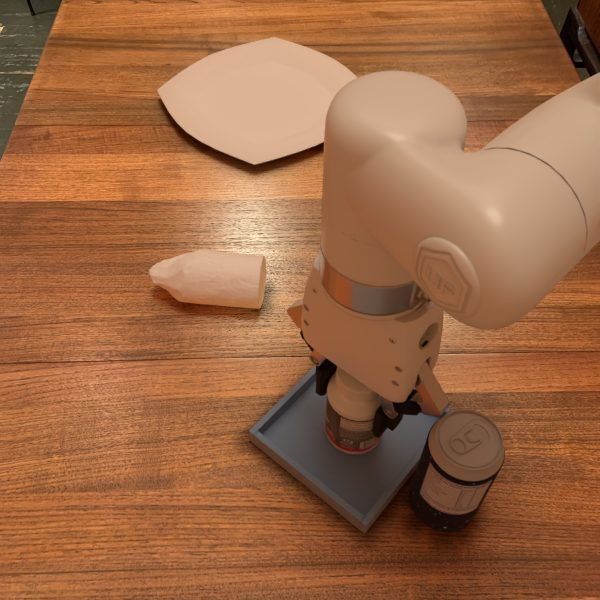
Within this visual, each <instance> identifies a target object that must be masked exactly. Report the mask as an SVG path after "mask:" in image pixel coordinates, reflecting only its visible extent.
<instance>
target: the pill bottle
mask: <svg viewBox="0 0 600 600" xmlns="http://www.w3.org/2000/svg"><path fill="white" fill-rule="evenodd" d="M380 405H381V401H380V397H379V394H377V393H376V392H374V391H373V390H371V389H370V388H368V387H367V386H366V385H364V384H363V383H361V382H360V381H358V380H357V379H355V378H354V377H352V376H351V375H350V374H348V373H347V372H345V371H344V370H342V369H341V368H340V367H338V366H337V370H336V372H335V373H334V374H333V375H332V376H331V378H330V380H329V383H328V387H327V401H326V418H325V431H326V435H327V437H328V439H329V441H330V442H331V444H332V445H333V446H334V447H335V448H337V449H338V450H340V451H342V452H344V453H346V454H352V455H356V454H364V453H367V452H369V451H371V450H372V449H374V448H375V447H376V446H377V445H378V443H379V442H380V440H381V438H382V435H383V434H382V435H381V436H380V437H379V438H377V437H376V436H374V435H373V432H372V429H373V423H374V418H375V412H376V410H377V409H378V408H379V406H380Z"/></svg>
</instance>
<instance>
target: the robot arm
mask: <svg viewBox="0 0 600 600" xmlns="http://www.w3.org/2000/svg"><path fill="white" fill-rule="evenodd" d="M467 135H468V118H467V114H466V110H465V108H464V106H463V104H462V102H461V101H460V99H459V98H458V96H457V95H456V94H455V92H454V91H452V90H451V89H450V88H449V87H448V86H446V85H445V84H444V83H443V84H442V83H441V82H440V81H438V80H436V79H434V78H432V77H430V76H427V75H425V74H421V73H418V72H411V71H408V70H407V71H405V70H394V69H393V70H380V71H374V72H370V73H367V74H364V75H361V76H358V78H356V79H354V80H352V81H351V82H349V83H347V84H346V85H345V86H344V87H343V88H341V89H340V90H339V91H338V92H337V94H336V95H335V97H334V98H333V100H332V101H331V103H330V106H329V108H328V111H327V114H326V120H325V130H324V143H323V160H322V161H323V163H322V187H321V188H322V189H321V208H320V209H321V214H320V238H319V251H318V252H317V253H316V255H315V257H314V259H313V262H312V264H311V267H310V269H309V273H308V275H307V280H306V283H305V287H304V291H303V292H304V293H303V298H300V299H297V300H296V301H295V302H293V304H292V305H290V306H289V307H288V308H287V309H286V314H287V315H288V316H289V317H290V319H291V320H292V322H293V323H294V325H295V326H296V328H297V329H300V331H299V334H300V337H301V339H302V340H303V341H304V342H305V344H306V345H307V347H308V349H309V350H310V351H311V353H310V354H309V361H310V362H311V363H312V364H313V366H315V365H316V375H315V376H316V393H317V394H318V395H320V396H324V395H325V394H326V393H327V387H328V383H329V380H330V378H331V376H332V375H333V374H334V373H335V372H336V370H337V366H338V367H340V368H341V369H342V370H344V371H345V372H347V373H348V374H350V375H351V376H352V377H354V378H355V379H357V380H358V381H360V382H361V383H363V384H364V385H366V386H367V387H368V388H370V389H371V390H373V391H374V392H376V393H377V394H379V397H380V401H381V405H380V406H379V408H378V409H377V410H376V412H375V418H374V423H373V429H372V432H373V435H374V436H376V437H377V438H379V437H380V436H381V435H382V434H383V433H384V432H385V430H386V429H387V428H388V429H390V430H391V431H393V430H394V429H395V428H396V427H397V426H398V425H399V423H400V422H401V420H402V418H403V415H415V416H416V415H418V414H419V413H423V414H424V415H430V416H436V417H440V416H441V415H442V414H443V413H444V411H445V410H446V409H447V408H448V407H449V408H450V405H451V403H450V399H448V396H447V395H446V393H445V392H444V389H443V388H442V386H441V384H440V383H439V381H438V379H437V377H436V375H435V373H434V372H433V371H434V369H435V368H436V365H437V363H438V358H439V356H440V355H439V354H440V349H441V343H442V337H443V328H444V312H445V313H446V314H447V315H448V316H450V317H452V318H453V319H454V320H455V321H457V322H460V323H461V324H463V325H465V326H468V327H470V328H474V329H479V330H484V331H485V330H486V331H490V330H492V331H493V330H500V329H503V328H506V327H509V326H511V325H514V324H515V323H517V322H519V321H520V320H522V319H523V318H524V317H525V316H527V315H528V314H529V313H530V312H532V311H533V310H534V309H535V308H536V307H537V306H538V305H539V304H540V303H541V302H542V301H543V300H544V299H545V298H546V296H548V295H549V294H550V292H552V290H553V289H554V288H555V287H556V286H558V284H560V282H561V281H562V280H563V279H564V278H565V277H566V276H567V275H568V274H569V273H570V272H571V271H572V270H573V268H575V267H576V265H577V264H578V263H580V261H581V260H582V259H583V258H585V256H586V255H587V254H589V252H590V251H591V250H592V249H593V248H594V247H595V246H596V245H597V244H598V243H599V242H600V71H599V72H598V73H595V74H594V75H592V76H589V77H587V78H586V79H584V80H582V81H580V82H578V83H577V84H575V85H573V86H570V87H568V88H567V89H564V90H562V91H561V92H560V93H558V94H556V95H555V96H552V97H550V98H549V99H547V100H546V101H544V102H543V103H540V104H539V105H538V106H536V107H534V108H533V109H532V110H530V111H529V112H528V113H526V114H524V115H523V116H521V118H519V119H518V120H517V121H515V122H514V123H512V124H511V125H509V126H508V127H507V128H505V129H504V130H502V131H501V133H499V134H498V135H497V136H495V137H494V138H493V139H492V140H490V141H489V142H488V143H486V144H485V145H484V146H483V147H481V148H480V149H479V150H477V151H469V152H465V147H466V142H467ZM414 387H415V389H414Z"/></svg>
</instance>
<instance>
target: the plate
mask: <svg viewBox="0 0 600 600" xmlns="http://www.w3.org/2000/svg"><path fill="white" fill-rule="evenodd" d="M356 78H359V76H357V75H356V74H354V72H352V71H351V70H350V69H349V68H348V67H347V66H345V65H344V64H342V63H340V62H339V61H338V60H336V59H335V58H333V57H330V56H329V55H327V54H325V53H323V52H321V51H318V50H316V49H313V48H310V47H308V46H306V45H305V46H304V45H302V44H299V43H296V42H294V41H293V42H292V41H289V40H286V39H284V38H281V37H277V36H272V37H268V38H264V39H259V40H254V41H251V42H247V43H243V44H238V45H236V46H232V47H229V48H226V49H223V50H220V51H216V52H213V53H211V54H209V55H207V56H205V57H203V58H201V59H199V60H198V61H195V62H194V63H192V64H190V65H188V66H187V67H186V68H184V69H183V70H181V71H180V72H178V73H177V74H176V75H174V76H173V77H171V78H170V79H169V80H167V81H166V82H165V83H163V85H161V86H160V87H159V88H157V89H156V92H157V94H158V95H159V97H160V99H161V101H162V103H163V105H164V107H165V108H166V110H167V112H168V113H169V114H170V116H171V118H172V119H173V120H174V121H175V122H176V124H177V125H178V126H179V127H180V128H181V129H182V130H183V131H184V132H185V133H186V134H188V135H189V136H191V137H192V138H194V139H195V140H196V141H198V142H199V143H201V144H203V145H205V146H207V147H209V148H211V149H213V150H215V151H217V152H220V153H222V154H225V155H227V156H229V157H232V158H234V159H237V160H240V161H242V162H245V163H247V164H250V165H252V166H258V165H263V164H266V163H269V162H272V161H276V160H279V159H283V158H286V157H290V156H293V155H296V154H298V153H301V152H304V151H307V150H309V149H313V148H315V147H317V146H319V145H321V144H324V130H325V120H326V114H327V111H328V108H329V106H330V103H331V101H332V100H333V98H334V97H335V95H336V94H337V92H338V91H339V90H340V89H341V88H343V87H344V86H345V85H346V84H347V83H349V82H351V81H352V80H354V79H356Z"/></svg>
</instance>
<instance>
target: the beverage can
mask: <svg viewBox="0 0 600 600" xmlns="http://www.w3.org/2000/svg"><path fill="white" fill-rule="evenodd" d="M504 444H505V443H504V437H503V434H502V432H501V430H500V427H499V426H498V425H497V424H496V423H495V421H493V419H492V418H490V417H489V416H488V415H486V414H485V413H482V412H480V411H478V410H475V409H470V408H461V409H460V408H459V409H454V410H453V411H451V412H449V413H447V414H446V415H444V416H443V417H441V418H440V419H438V420H437V421H436V422H435V423H434V424H433V425H432V427H431V428H430V430H429V433H428V436H427V439H426V442H425V445H424V448H423V451H422V454H421V457H420V460H419V463H418V466H417V469H416V470H415V471H414V475H413V479H412V482H411V485H410V488H409V493H408V500H409V505H410V507H411V510H412V512H413V514H414V515H415V517H416V518H417V519H418V521H420V523H422V524H423V525H424V526H426V527H427V528H429V529H431V530H433V531H435V532H439V533H448V534H449V533H451V534H452V533H455V532H456V533H457V532H459V531H462V530H464V529H465V528H466V527H468V526H469V525H470V524H471V522H472V521H473V519H474V518H475V516H476V514H477V512H478V511H479V509H480V507H481V505H482V503H483V501H484V500H485V498H486V497H487V494H488V493H489V491H490V490H491V487H492V486H493V484H494V482H495V480H496V478H497V476H498V475H499V473H500V472H501V470H502V468H503V466H504V463H505V459H506V449H505V448H506V447H505V445H504Z"/></svg>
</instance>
